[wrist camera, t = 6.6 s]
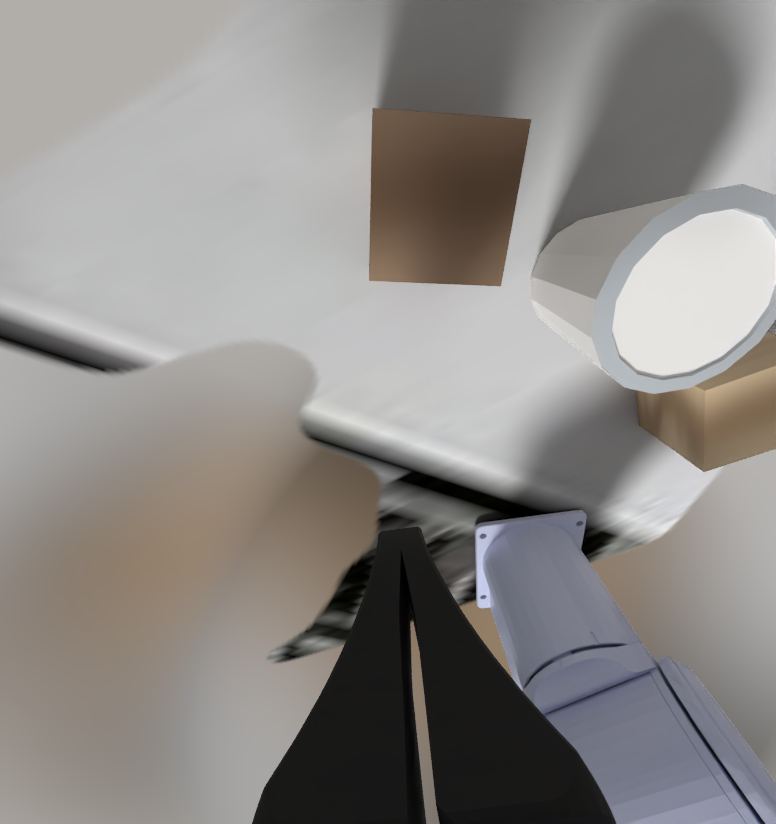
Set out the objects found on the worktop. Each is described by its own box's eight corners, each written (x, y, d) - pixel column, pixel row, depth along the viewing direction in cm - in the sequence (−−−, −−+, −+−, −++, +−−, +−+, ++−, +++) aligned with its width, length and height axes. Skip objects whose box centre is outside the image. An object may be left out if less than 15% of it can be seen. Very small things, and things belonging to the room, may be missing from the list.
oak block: (720, 395, 22) (809, 437, 17) (638, 424, 23) (703, 471, 18) (722, 321, 20) (825, 347, 15) (632, 355, 20) (704, 390, 16)
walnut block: (468, 272, 18) (500, 286, 13) (369, 267, 18) (369, 280, 13) (485, 151, 16) (531, 119, 11) (371, 143, 15) (372, 108, 11)
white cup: (573, 171, 16) (703, 135, 10) (681, 241, 18) (852, 248, 11) (492, 312, 19) (553, 353, 13) (592, 361, 20) (690, 419, 14)
